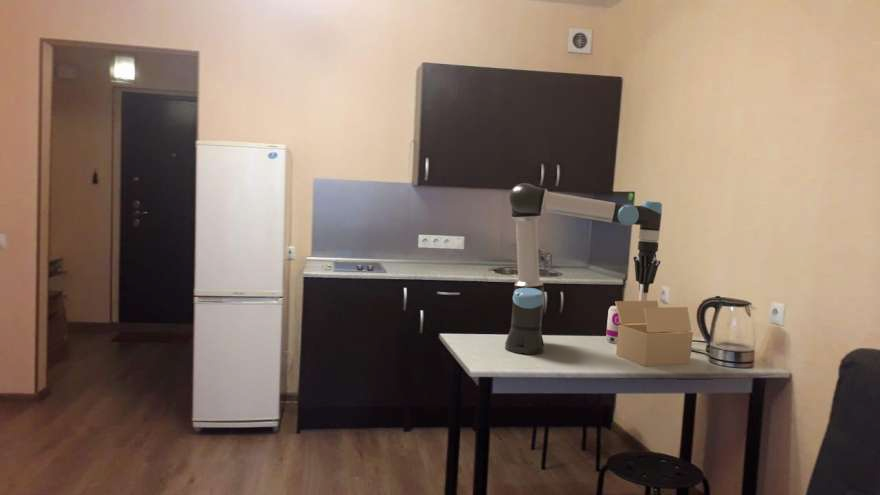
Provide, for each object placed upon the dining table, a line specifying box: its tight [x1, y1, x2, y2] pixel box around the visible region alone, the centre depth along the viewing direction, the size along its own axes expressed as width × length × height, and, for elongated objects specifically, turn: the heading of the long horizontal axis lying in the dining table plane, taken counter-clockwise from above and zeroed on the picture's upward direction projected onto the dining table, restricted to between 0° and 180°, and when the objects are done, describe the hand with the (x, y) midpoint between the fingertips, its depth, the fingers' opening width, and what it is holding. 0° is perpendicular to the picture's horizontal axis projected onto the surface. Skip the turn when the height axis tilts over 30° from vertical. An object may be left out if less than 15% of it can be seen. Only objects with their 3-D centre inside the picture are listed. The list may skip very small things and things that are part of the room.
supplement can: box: [605, 305, 628, 345], centre depth 272 cm, size 8×8×15 cm
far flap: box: [614, 300, 660, 325], centre depth 254 cm, size 21×9×1 cm
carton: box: [615, 323, 694, 367], centre depth 246 cm, size 22×16×12 cm
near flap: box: [644, 306, 692, 332], centre depth 239 cm, size 21×9×1 cm
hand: (642, 300), depth 252 cm, fingers closed
